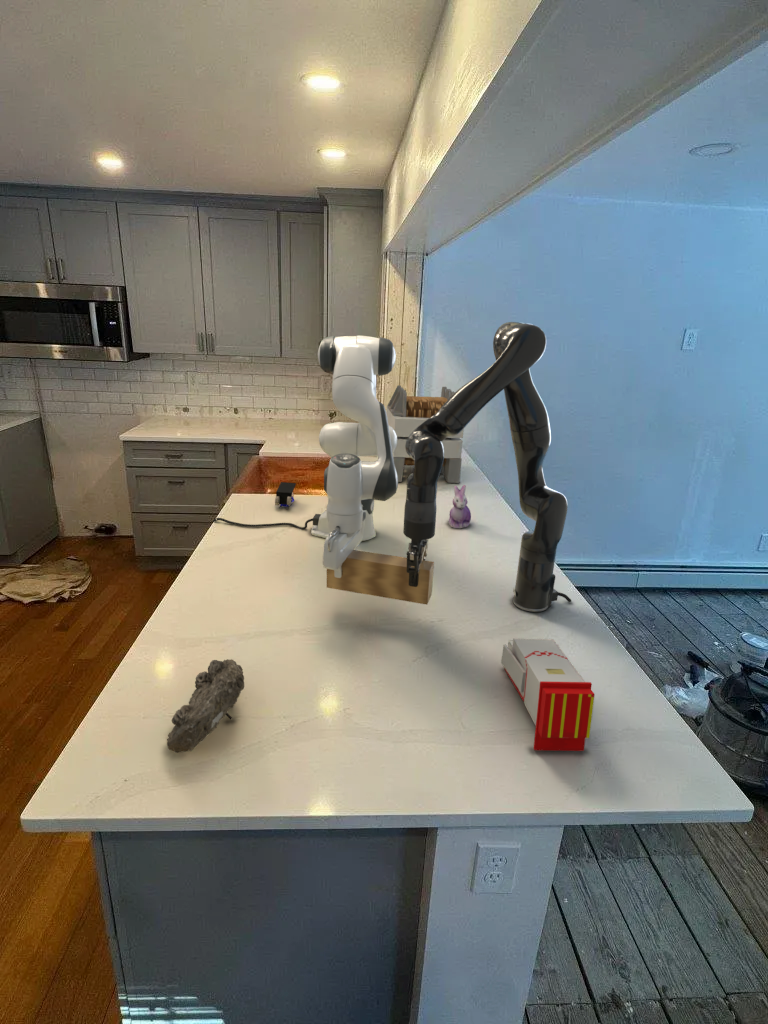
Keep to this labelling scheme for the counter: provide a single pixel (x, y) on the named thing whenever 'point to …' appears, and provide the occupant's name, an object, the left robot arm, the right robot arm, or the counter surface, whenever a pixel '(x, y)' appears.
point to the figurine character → (285, 494)
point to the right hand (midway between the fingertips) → (416, 580)
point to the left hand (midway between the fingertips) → (343, 571)
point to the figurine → (459, 509)
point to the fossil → (206, 705)
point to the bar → (382, 577)
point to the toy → (550, 693)
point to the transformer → (411, 414)
